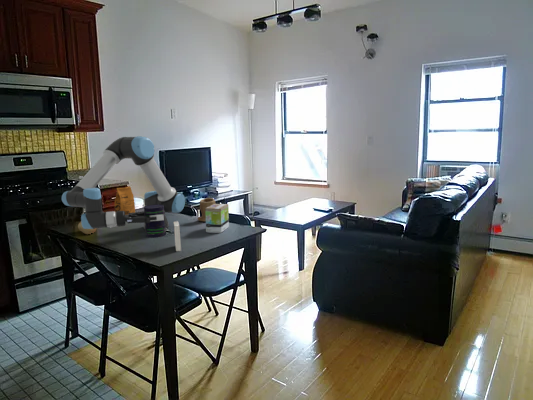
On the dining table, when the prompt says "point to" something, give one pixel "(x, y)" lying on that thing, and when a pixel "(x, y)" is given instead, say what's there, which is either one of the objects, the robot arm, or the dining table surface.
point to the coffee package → (124, 200)
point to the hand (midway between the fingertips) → (163, 215)
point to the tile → (177, 236)
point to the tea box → (217, 218)
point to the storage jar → (155, 227)
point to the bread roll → (86, 231)
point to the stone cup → (203, 205)
